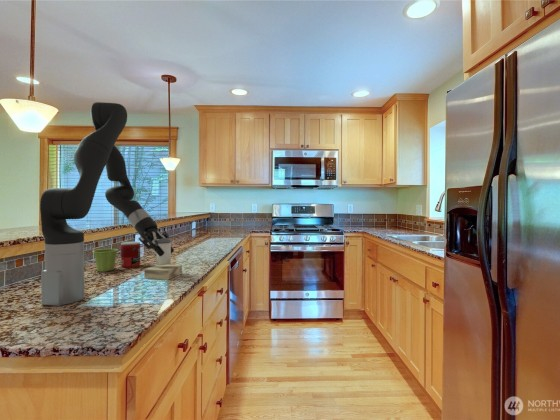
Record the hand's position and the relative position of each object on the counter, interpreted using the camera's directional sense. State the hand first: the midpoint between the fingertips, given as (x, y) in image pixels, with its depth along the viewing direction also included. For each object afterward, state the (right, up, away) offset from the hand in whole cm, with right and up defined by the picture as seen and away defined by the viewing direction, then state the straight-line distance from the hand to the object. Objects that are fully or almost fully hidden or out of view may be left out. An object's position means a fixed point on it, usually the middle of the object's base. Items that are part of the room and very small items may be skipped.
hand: (167, 253), depth 112 cm
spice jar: (-2, -4, +1) cm, 5 cm away
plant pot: (-31, -9, +10) cm, 33 cm away
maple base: (-2, -9, +1) cm, 9 cm away
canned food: (-24, -9, +17) cm, 31 cm away
